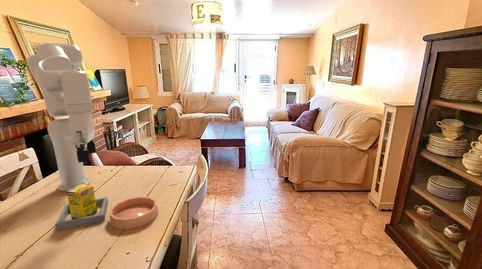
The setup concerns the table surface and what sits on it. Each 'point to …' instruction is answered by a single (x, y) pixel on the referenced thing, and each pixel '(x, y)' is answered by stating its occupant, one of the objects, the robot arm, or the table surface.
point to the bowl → (133, 212)
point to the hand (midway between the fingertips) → (87, 157)
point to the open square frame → (82, 221)
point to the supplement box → (82, 201)
